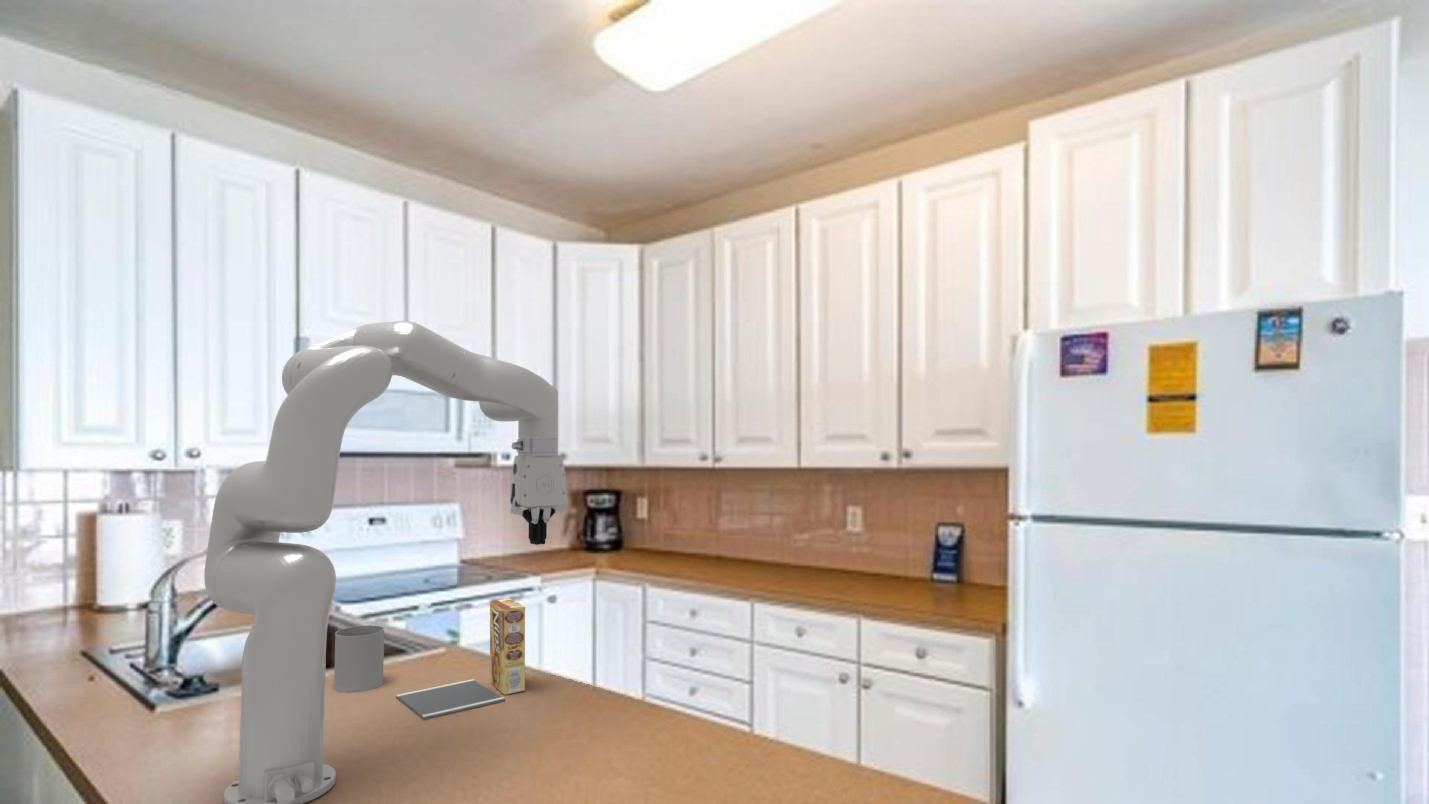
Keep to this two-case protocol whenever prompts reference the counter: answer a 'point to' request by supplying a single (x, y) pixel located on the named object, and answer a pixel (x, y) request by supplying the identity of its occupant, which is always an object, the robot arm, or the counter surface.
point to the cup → (359, 658)
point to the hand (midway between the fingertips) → (537, 543)
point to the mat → (449, 699)
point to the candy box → (507, 646)
